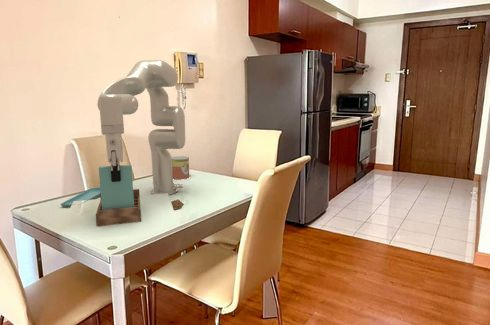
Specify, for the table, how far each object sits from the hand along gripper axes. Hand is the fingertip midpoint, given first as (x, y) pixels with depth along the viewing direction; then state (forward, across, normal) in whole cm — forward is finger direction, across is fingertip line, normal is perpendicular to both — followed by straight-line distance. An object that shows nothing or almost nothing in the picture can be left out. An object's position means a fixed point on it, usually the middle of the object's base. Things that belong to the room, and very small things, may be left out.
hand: (116, 180), depth 126 cm
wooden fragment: (+17, +14, -19) cm, 30 cm away
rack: (+17, +7, 0) cm, 18 cm away
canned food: (+17, +72, -31) cm, 80 cm away
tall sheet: (+11, 0, 0) cm, 11 cm away
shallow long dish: (+18, +41, +16) cm, 47 cm away
